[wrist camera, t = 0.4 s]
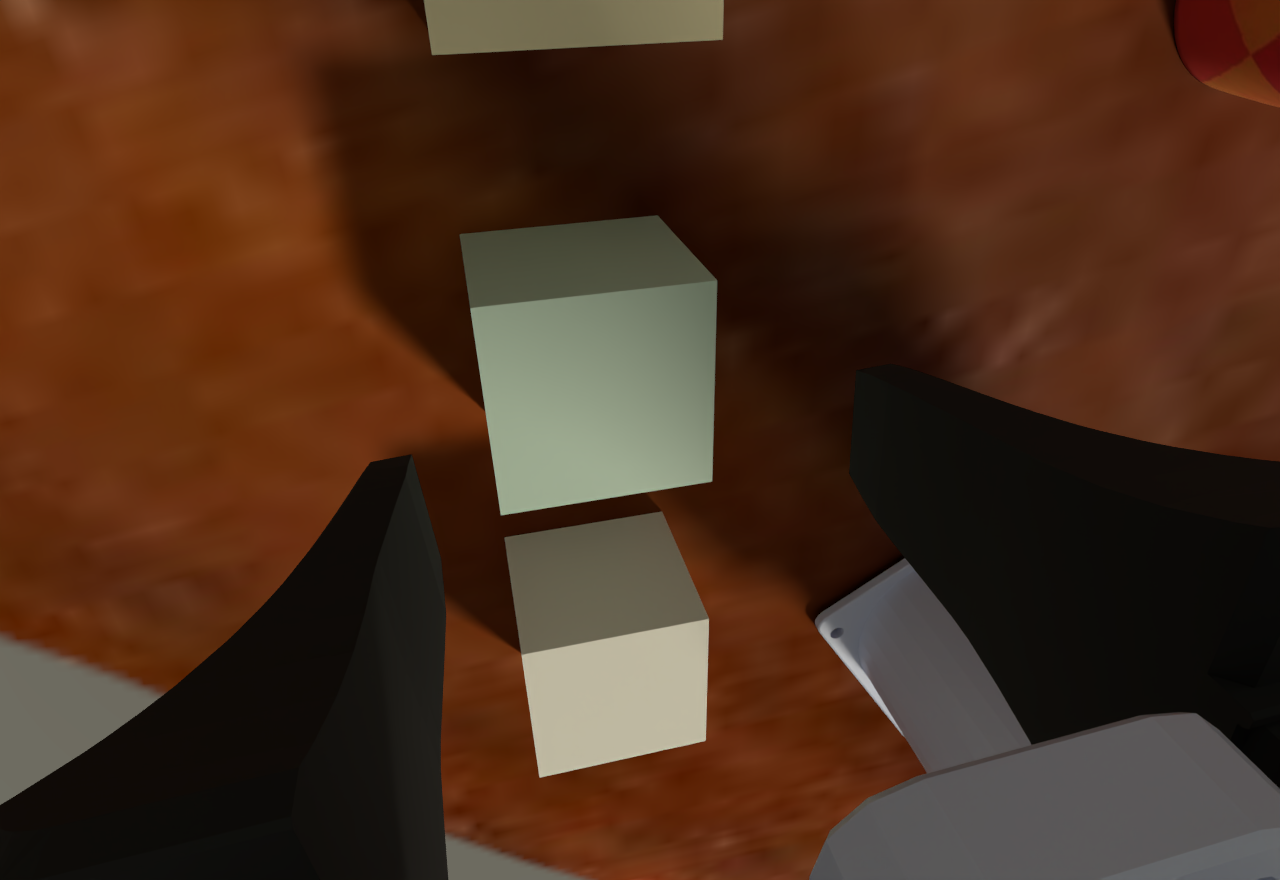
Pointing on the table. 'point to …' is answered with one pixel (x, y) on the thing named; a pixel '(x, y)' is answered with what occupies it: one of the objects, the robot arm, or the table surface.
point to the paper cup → (1232, 45)
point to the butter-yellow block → (567, 23)
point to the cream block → (609, 641)
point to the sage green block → (593, 359)
